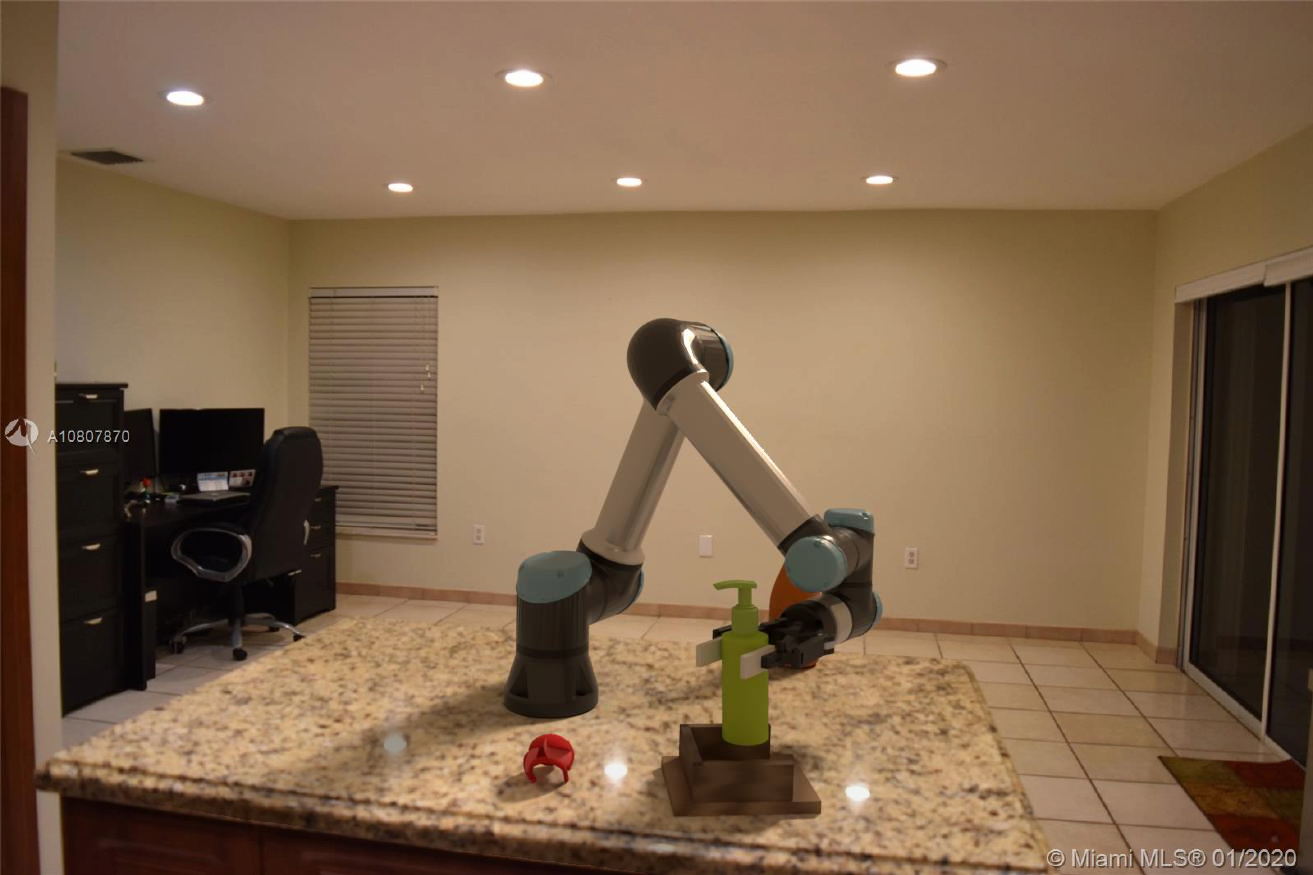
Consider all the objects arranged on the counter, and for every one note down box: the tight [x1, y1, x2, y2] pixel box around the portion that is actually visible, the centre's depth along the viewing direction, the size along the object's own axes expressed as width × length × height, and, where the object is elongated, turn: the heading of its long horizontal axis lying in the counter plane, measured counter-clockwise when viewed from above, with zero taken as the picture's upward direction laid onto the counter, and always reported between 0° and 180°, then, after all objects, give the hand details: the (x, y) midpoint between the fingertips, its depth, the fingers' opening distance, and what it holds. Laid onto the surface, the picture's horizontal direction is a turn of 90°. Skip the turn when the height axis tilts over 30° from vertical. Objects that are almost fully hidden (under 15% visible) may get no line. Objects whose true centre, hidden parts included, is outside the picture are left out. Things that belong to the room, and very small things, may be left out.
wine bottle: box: [768, 560, 821, 669], centre depth 169 cm, size 10×10×30 cm
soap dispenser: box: [712, 579, 770, 746], centre depth 115 cm, size 6×7×20 cm
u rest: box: [660, 722, 822, 818], centre depth 116 cm, size 18×14×6 cm
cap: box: [522, 733, 576, 784], centre depth 118 cm, size 8×6×6 cm
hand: (720, 661), depth 111 cm, fingers closed on soap dispenser, 6 cm apart
